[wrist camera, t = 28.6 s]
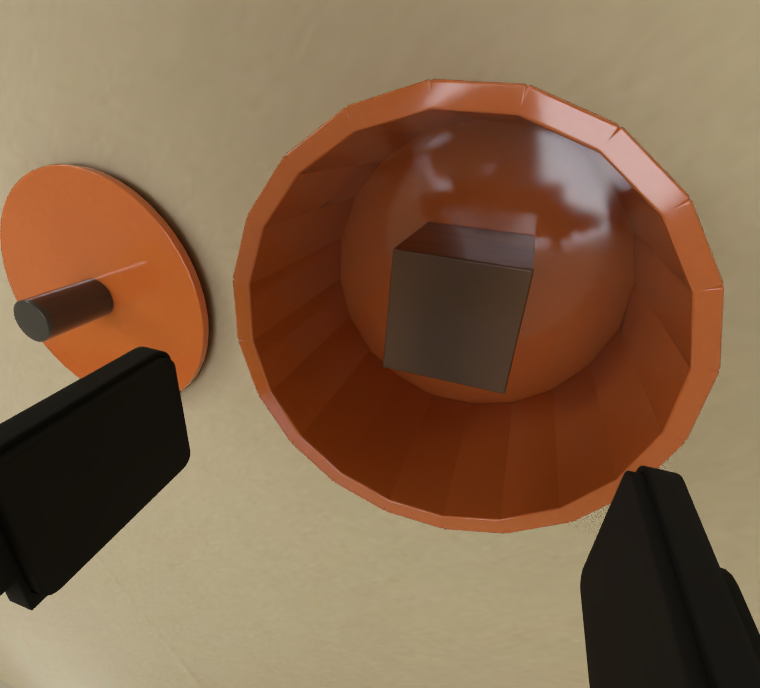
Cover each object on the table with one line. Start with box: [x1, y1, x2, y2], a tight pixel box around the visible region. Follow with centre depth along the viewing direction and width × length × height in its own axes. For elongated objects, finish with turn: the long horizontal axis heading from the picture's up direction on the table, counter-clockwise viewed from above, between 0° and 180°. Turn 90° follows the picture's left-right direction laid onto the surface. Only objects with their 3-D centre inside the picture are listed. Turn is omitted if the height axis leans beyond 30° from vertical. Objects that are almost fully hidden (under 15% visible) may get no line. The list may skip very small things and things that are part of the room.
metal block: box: [383, 222, 535, 394], centre depth 19 cm, size 5×5×6 cm
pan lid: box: [0, 164, 209, 392], centre depth 28 cm, size 16×16×6 cm
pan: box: [233, 79, 724, 533], centre depth 18 cm, size 15×15×9 cm
